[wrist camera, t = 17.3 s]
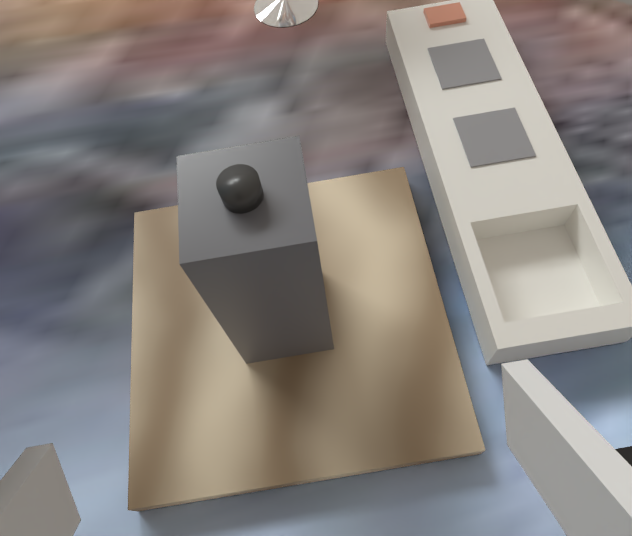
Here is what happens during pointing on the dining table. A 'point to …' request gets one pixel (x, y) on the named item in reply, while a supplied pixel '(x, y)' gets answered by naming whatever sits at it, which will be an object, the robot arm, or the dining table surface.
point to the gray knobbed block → (254, 247)
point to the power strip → (505, 188)
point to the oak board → (297, 363)
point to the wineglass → (284, 11)
